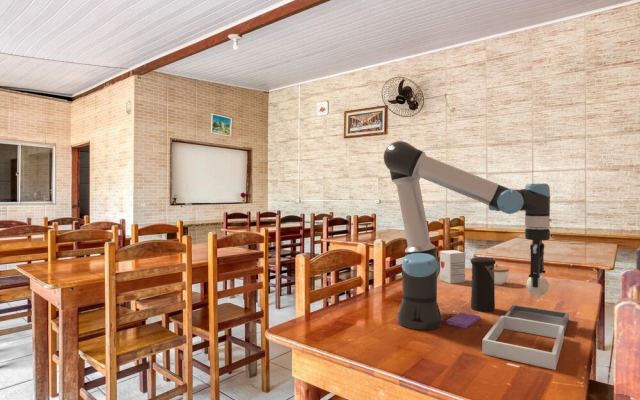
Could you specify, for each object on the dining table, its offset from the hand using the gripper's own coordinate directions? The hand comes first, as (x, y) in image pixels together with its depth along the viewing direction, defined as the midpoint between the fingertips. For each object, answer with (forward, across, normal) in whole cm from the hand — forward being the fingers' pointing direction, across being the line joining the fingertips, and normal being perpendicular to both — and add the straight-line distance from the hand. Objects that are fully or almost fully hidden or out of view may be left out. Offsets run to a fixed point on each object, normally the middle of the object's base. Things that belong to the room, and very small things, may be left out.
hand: (537, 293), depth 139 cm
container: (+10, +6, +19) cm, 23 cm away
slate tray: (+10, 0, 0) cm, 10 cm away
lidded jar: (+10, +52, +24) cm, 58 cm away
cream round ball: (0, 0, 0) cm, 0 cm away
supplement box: (+10, +45, +43) cm, 63 cm away
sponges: (+11, -13, +21) cm, 27 cm away
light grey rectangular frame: (+10, -25, 0) cm, 27 cm away
